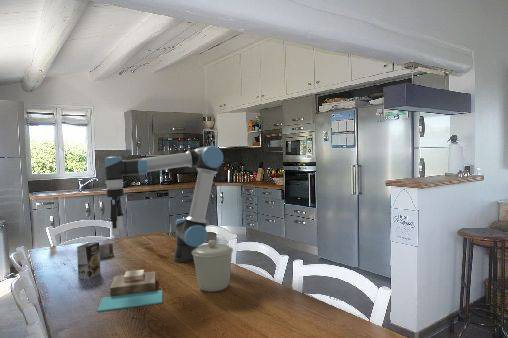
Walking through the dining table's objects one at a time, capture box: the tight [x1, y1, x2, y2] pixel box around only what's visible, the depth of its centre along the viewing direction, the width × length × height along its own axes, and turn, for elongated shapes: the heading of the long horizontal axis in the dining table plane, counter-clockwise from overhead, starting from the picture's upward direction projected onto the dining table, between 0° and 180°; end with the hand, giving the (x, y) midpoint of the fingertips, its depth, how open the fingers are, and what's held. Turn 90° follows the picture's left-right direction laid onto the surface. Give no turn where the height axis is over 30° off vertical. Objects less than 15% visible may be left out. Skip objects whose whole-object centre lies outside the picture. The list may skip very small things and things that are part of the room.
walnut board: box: [109, 271, 157, 297], centre depth 158 cm, size 18×16×4 cm
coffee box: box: [76, 241, 101, 280], centre depth 176 cm, size 9×6×16 cm
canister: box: [192, 239, 234, 293], centre depth 154 cm, size 18×18×21 cm
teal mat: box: [96, 289, 163, 313], centre depth 143 cm, size 24×13×1 cm, turn 105°
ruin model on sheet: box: [99, 242, 115, 259], centre depth 210 cm, size 11×3×10 cm, turn 131°
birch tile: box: [124, 269, 145, 282], centre depth 160 cm, size 8×8×2 cm
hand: (117, 231), depth 172 cm, fingers open, 13 cm apart
